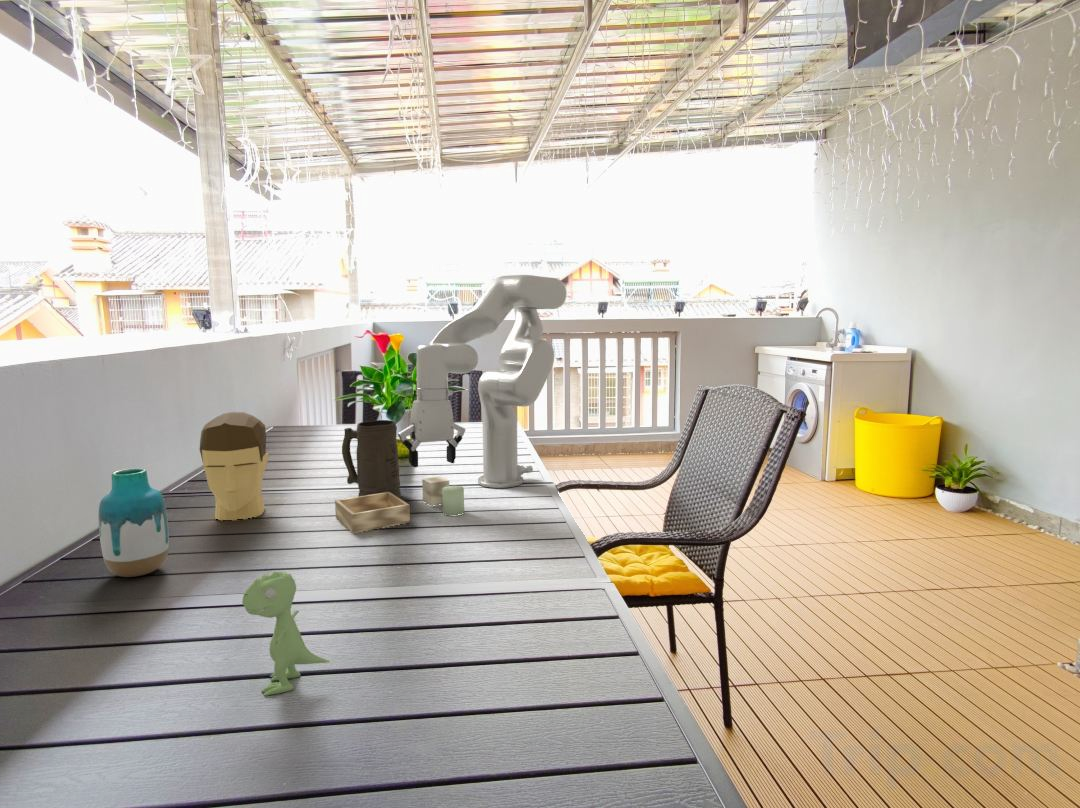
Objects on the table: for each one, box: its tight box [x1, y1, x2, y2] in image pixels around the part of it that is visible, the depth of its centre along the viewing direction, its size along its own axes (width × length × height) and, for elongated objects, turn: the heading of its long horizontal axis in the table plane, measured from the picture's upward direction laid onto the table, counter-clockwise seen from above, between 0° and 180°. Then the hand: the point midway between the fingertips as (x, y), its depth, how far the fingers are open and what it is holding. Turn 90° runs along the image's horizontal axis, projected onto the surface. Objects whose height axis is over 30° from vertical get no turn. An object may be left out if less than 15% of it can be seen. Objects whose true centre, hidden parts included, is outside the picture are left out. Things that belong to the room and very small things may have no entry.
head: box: [199, 411, 270, 521], centre depth 152 cm, size 14×21×25 cm, turn 17°
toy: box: [242, 571, 331, 697], centre depth 84 cm, size 7×8×15 cm
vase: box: [98, 468, 170, 578], centre depth 119 cm, size 11×11×19 cm
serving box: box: [334, 492, 411, 535], centre depth 150 cm, size 13×13×4 cm
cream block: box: [421, 475, 450, 506], centre depth 164 cm, size 5×5×6 cm
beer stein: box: [341, 419, 402, 498], centre depth 168 cm, size 15×11×20 cm
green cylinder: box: [442, 485, 465, 515], centre depth 156 cm, size 5×5×6 cm
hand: (432, 464), depth 162 cm, fingers open, 9 cm apart
